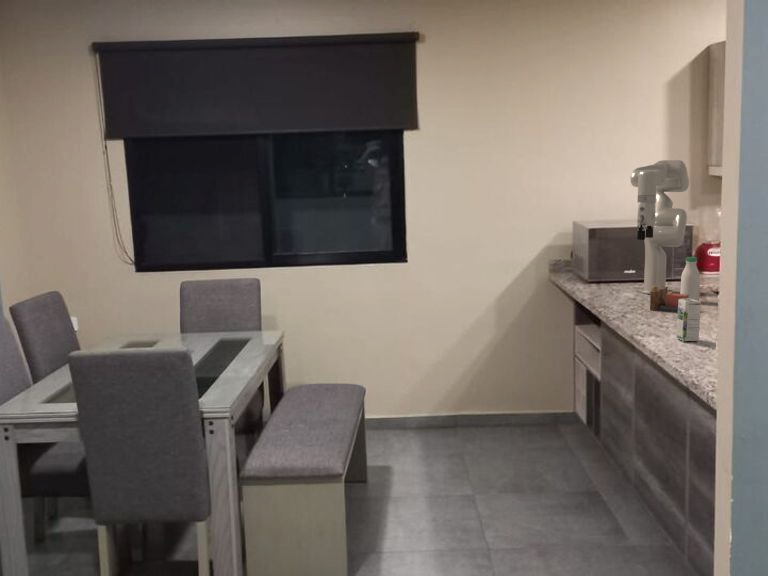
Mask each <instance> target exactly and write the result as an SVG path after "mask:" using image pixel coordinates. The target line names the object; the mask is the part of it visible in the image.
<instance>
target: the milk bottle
mask: <svg viewBox="0 0 768 576" xmlns="http://www.w3.org/2000/svg"><path fill="white" fill-rule="evenodd" d="M685 263H686V264H685V267H684V269H683V270H682V273H681V279H680V293H679V294H686V295H689V296H688V299H694V300H697V301H700V290H701V289H700V287H701V285H700V284H701V275H700V272H699V269H698V266H697V263H698V257H695V256H687V257H685Z"/></svg>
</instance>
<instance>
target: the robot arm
mask: <svg viewBox="0 0 768 576" xmlns="http://www.w3.org/2000/svg"><path fill="white" fill-rule="evenodd" d="M629 179H630V184H631V186H632V187H635V188H637V203H638V207H637V219H636V220H637V221H636V222H637V227H636V228H637V235H636V236H637V240H639V241H644V242H643V243H644V253H645V254H644V272H643V273H644V276H643V277H644V278H643V280H644V281H643V288H641V289H640V293H641V294H646V295H651V287H652V286H656V287H657V289H658V288H661V287H666V285H667V284H666V281H667V280H666V278H667V277H666V276H667V253H666V251H664V249H663V247H668V248H669V247H670V248H671V247H672V248H675V247H676V248H678V247H681V246H682V245H683V243H684V239H685V234H686V227H687V220H688V217H687V216H688V215H687V212H686V210H685V209H683V208H675V207H674V208H673V204H674V203H673V201H672V199H671V197H669V195H668V194H666V193H667V192H668V193H684V192H686V191H687V190H688V189H689V186H690V180H689V175H688V170H687V167H686V163H685V162H684V161H683V160H680V159H674V160H673V159H671V160H669V159H668V160H665V159H664V160H659V161H657V162H654V164H649V165H645V166H640V167H637V168H634V170H633V171H632V172H631V174H630V178H629ZM669 292H670V291H669V289H667V293H669Z"/></svg>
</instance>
